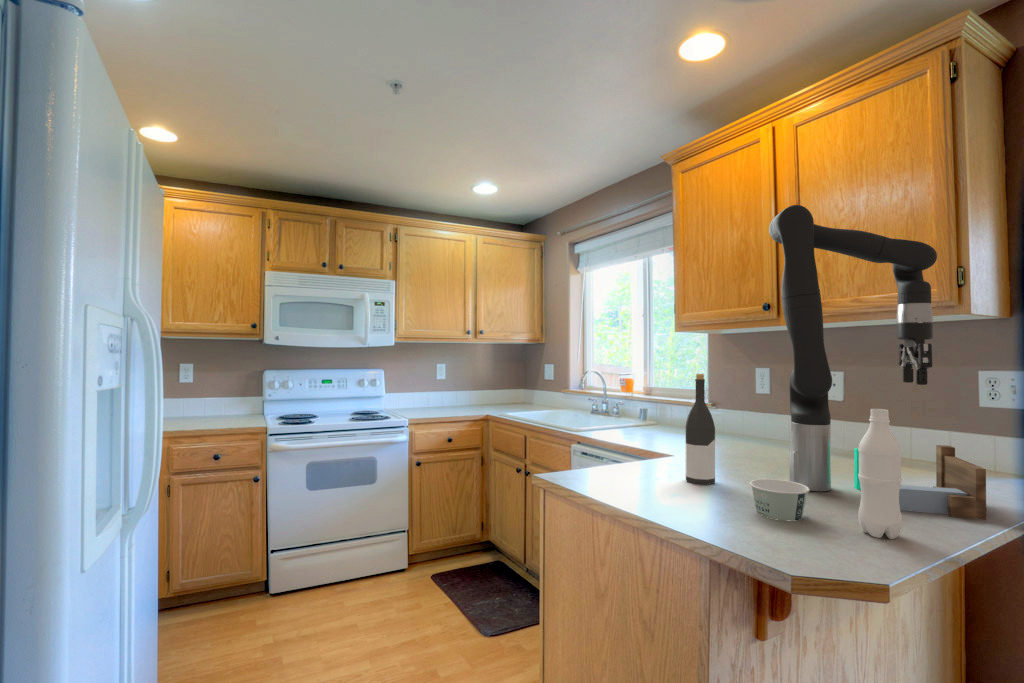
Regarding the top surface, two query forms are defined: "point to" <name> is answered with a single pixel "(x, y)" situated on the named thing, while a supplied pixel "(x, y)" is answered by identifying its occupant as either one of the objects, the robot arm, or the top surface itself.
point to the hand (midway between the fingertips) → (914, 383)
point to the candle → (856, 469)
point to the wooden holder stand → (961, 484)
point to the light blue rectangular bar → (926, 498)
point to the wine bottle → (700, 440)
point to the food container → (779, 498)
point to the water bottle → (880, 478)
